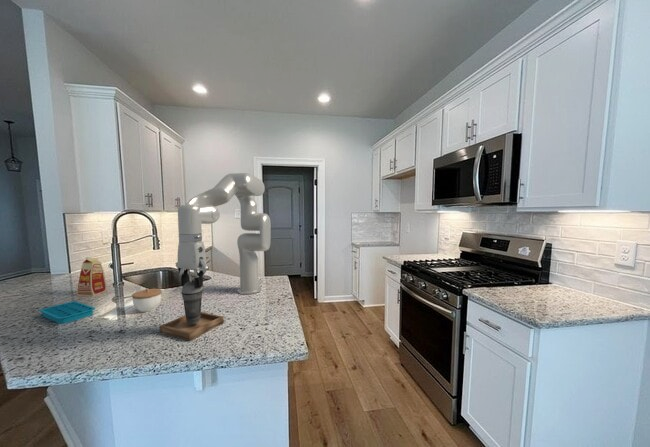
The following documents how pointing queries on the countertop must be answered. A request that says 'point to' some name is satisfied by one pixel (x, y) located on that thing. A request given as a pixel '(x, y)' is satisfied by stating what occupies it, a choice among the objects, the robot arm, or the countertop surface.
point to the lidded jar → (147, 299)
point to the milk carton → (91, 278)
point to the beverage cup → (192, 301)
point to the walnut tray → (191, 326)
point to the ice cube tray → (67, 312)
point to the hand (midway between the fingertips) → (192, 285)
